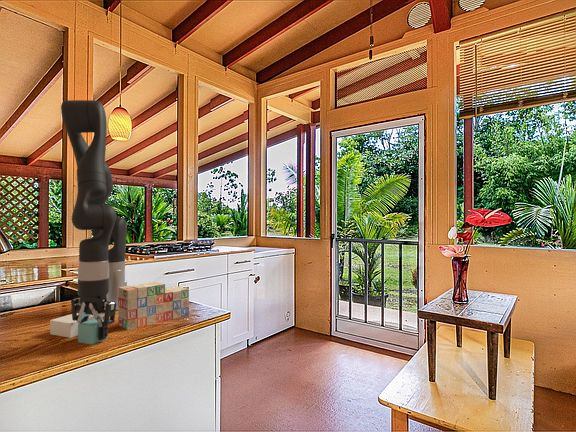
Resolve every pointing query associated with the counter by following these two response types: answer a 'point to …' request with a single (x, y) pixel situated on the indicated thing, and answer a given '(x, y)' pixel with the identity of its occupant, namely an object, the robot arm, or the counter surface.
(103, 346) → the counter surface
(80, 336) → the teal cube
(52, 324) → the white square block
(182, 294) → the stack of blocks
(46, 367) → the counter surface
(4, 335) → the counter surface
